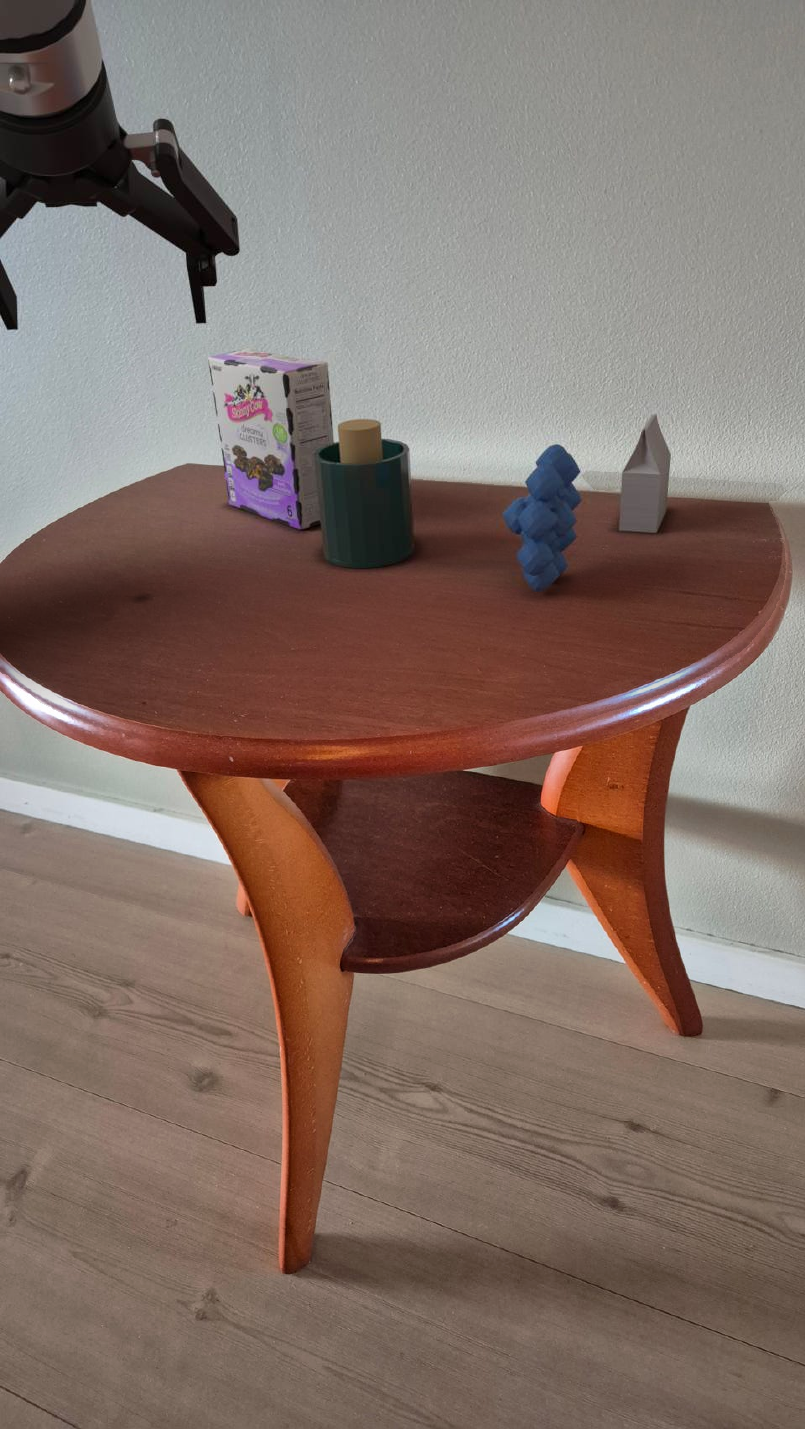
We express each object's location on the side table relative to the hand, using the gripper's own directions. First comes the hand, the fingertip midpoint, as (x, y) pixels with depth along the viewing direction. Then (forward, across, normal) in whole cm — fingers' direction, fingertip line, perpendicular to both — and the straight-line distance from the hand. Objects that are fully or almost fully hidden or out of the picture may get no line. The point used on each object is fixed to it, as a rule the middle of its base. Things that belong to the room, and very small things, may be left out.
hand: (107, 310), depth 73 cm
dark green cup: (+25, +20, -10) cm, 34 cm away
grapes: (+16, +34, -18) cm, 42 cm away
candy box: (+37, +12, -1) cm, 39 cm away
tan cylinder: (+25, +20, -10) cm, 33 cm away
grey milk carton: (+25, +49, -9) cm, 55 cm away
